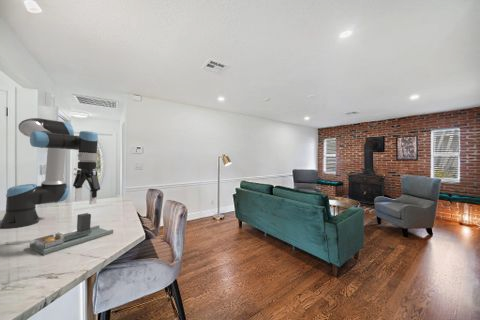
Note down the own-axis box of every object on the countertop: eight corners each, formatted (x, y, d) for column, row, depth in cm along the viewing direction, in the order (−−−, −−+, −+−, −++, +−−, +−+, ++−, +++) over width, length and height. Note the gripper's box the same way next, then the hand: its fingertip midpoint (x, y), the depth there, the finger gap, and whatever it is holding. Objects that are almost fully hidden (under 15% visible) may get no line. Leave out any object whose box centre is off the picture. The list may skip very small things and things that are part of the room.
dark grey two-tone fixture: (54, 241, 88) (56, 218, 89) (87, 232, 100) (88, 212, 101) (60, 244, 86) (61, 220, 86) (92, 234, 98) (93, 213, 98)
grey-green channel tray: (29, 247, 84) (29, 243, 84) (98, 228, 109) (98, 225, 109) (43, 255, 78) (44, 250, 78) (113, 233, 103) (113, 229, 103)
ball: (54, 235, 88) (52, 244, 87) (42, 237, 84) (40, 246, 84) (58, 237, 86) (56, 246, 86) (46, 239, 82) (44, 248, 82)
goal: (34, 247, 84) (34, 238, 84) (52, 242, 89) (52, 234, 90) (44, 253, 80) (45, 243, 80) (62, 247, 85) (63, 238, 85)
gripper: (66, 160, 99) (64, 200, 99) (93, 162, 89) (90, 206, 88) (82, 160, 106) (80, 197, 106) (109, 162, 95) (107, 204, 95)
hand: (85, 202), depth 97 cm, fingers open, 13 cm apart
